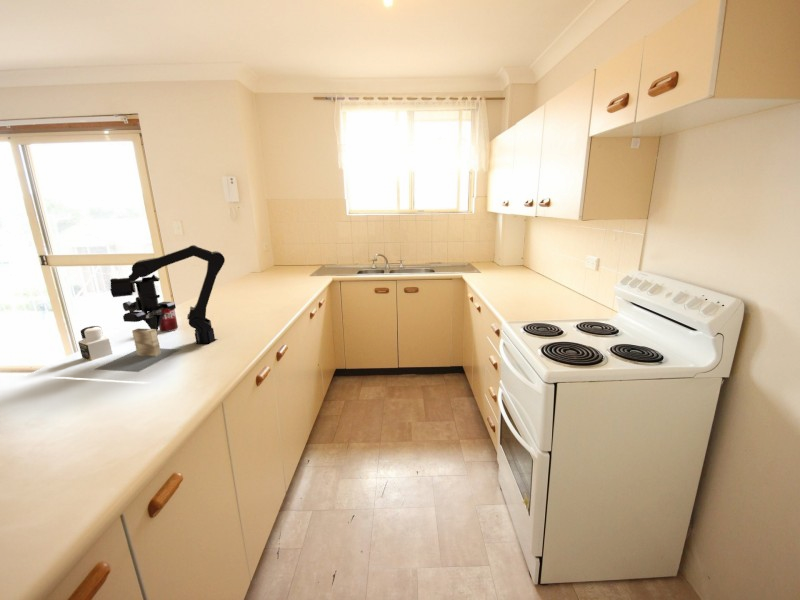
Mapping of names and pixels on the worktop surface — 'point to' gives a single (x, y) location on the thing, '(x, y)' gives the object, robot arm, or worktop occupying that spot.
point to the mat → (136, 361)
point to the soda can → (168, 321)
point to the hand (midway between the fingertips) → (155, 332)
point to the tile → (146, 342)
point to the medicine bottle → (94, 343)
